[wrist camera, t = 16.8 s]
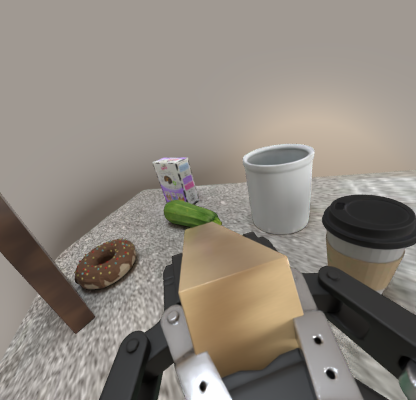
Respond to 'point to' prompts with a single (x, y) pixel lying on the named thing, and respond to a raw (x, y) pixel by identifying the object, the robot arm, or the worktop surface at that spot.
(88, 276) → the donut
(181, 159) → the candy box
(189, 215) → the vegetable
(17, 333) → the worktop surface
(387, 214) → the coffee cup
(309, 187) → the utensil holder
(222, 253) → the beech stick
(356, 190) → the worktop surface
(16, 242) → the walnut stand
